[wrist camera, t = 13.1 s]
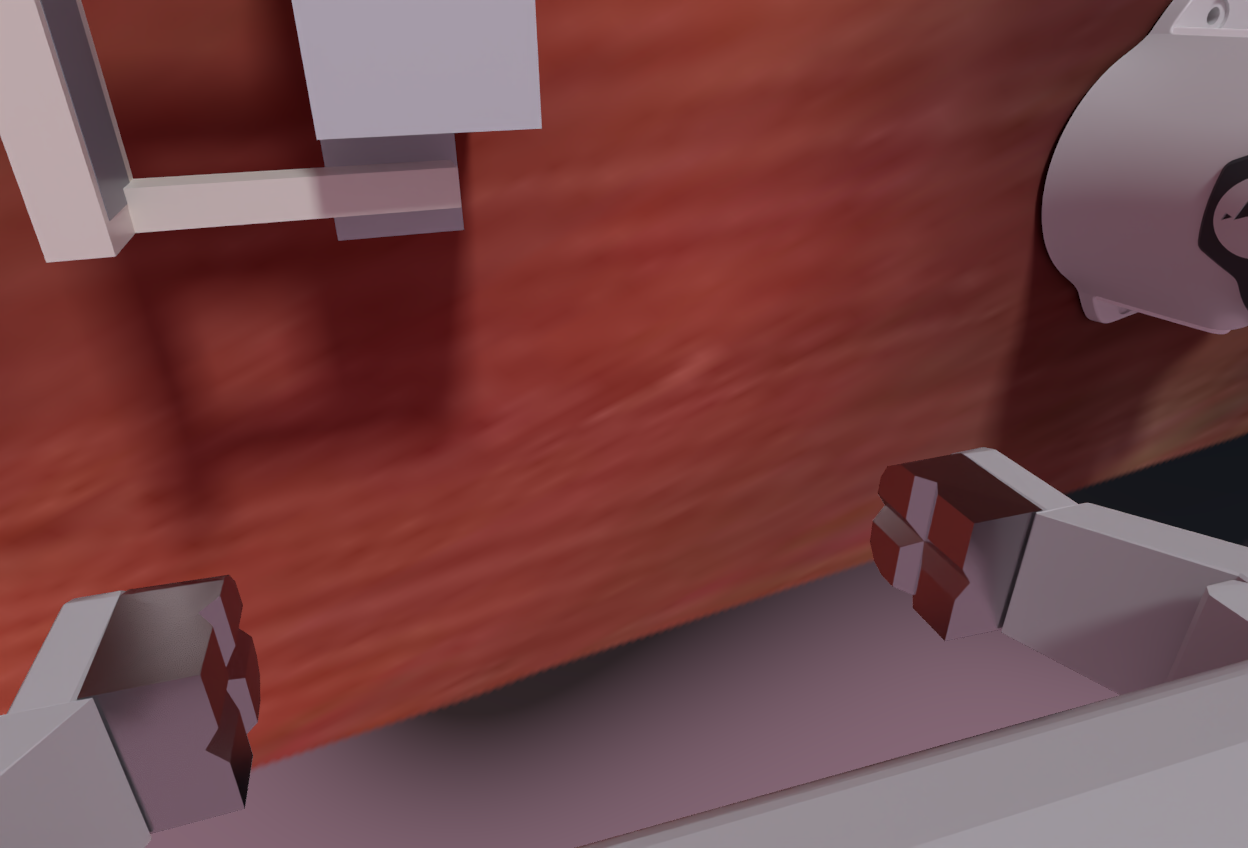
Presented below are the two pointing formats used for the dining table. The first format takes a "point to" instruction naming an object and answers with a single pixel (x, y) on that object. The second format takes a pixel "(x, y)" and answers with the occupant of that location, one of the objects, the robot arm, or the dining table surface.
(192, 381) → the dining table surface
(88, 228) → the white u-shaped bracket
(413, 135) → the white block with peg
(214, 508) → the dining table surface
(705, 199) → the dining table surface
